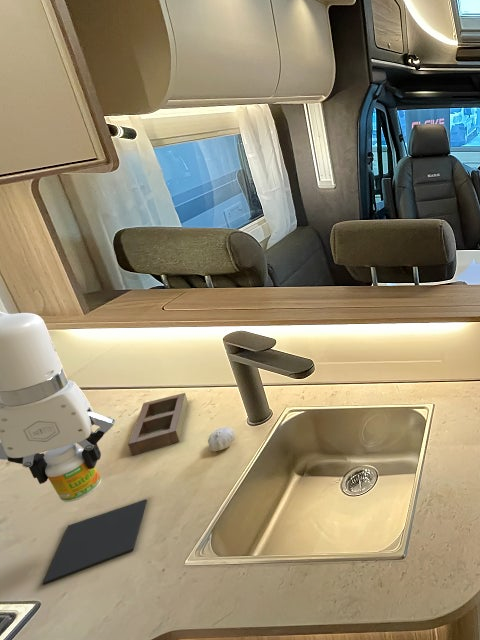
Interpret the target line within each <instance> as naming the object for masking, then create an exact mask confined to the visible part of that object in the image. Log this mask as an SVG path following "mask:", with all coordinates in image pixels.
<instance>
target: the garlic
mask: <svg viewBox="0 0 480 640" xmlns="http://www.w3.org/2000/svg"><path fill="white" fill-rule="evenodd" d="M235 436H236V435H235V431H234V429H233V428H230V427H228V426H222V427H220V428H217V429H215V430H214V431H212V432H211V433H210V434H209V437H208V440H207V444H208V449H209V451H211V452H219V451H223V450H225V449H227V448H229V446H231V445H232V444H233V442H234V441H235Z"/></svg>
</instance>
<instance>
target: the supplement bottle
mask: <svg viewBox="0 0 480 640" xmlns="http://www.w3.org/2000/svg"><path fill="white" fill-rule="evenodd" d="M83 450H84V448H79V445H78V444H77V443H74V444H71V445H67V446H63V447H60V448H56V449H52V450H49V451H45V452H44V460H45V461H46V463H47V466H46V468H45V473H46V475H47V477H48V479H47V480H49V482H50V483H51V485H52V487H53V488H54V491H55V492H56V494H57V495H58V497H59V499H60V500H61V501H62V502H64V503H71V502H75V501H78V500H81V499H84V498H85V497H87V496H89V495H90V494H91V493H93V492H94V491H95V490H96V489H97V488H98V487H99V486H100V485H101V482H102V477H101V475H100V473H99V471H98V470H97V468H96V466H95V467H94V468H93V469H88V468H87V465H86V463H85V460H84V458H83V456H82V452H83Z"/></svg>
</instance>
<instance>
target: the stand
mask: <svg viewBox="0 0 480 640" xmlns="http://www.w3.org/2000/svg"><path fill="white" fill-rule="evenodd" d="M188 405H189V401H188V397H187V394H186V392H183V393H178V394H174V395H170V396H166V397H163V398H157V399H154V400H150V401H146V402H143V403H142V407H141V409H140V412H139V414H138V417H137V420H136V422H135V425H134V427H133V430H132V434H131V436H130V438H129V441H128V448H129V451H130V454H131V456H137V455H139V454H142V453H143V454H144V453H146V452H150V451H154V450H156V449H160V448H164V447H166V446H170V445H173V444H177V443H180V440H181V436H182V432H183V428H184V424H185V419H186V413H187V410H188ZM167 428H168V429H167ZM163 429H164V430H163ZM159 430H161V431H159ZM156 431H158V432H156ZM153 432H154V433H153ZM149 433H151V434H149Z"/></svg>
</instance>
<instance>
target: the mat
mask: <svg viewBox="0 0 480 640" xmlns="http://www.w3.org/2000/svg"><path fill="white" fill-rule="evenodd" d="M147 501H148V499H147V498H146V499H142V500H139V501H137V502H134V503H131V504H128V505H125V506H121V507H119V508H115V509H113V510H109V511H107V512H105V513H101V514H98V515H96V516H92V517H89V518H86V519H83V520H80V521H77V522H74V523H72V524H68V526H67V527H66V530H65V532H64V534H63V536H62V539H61V541H60V543H59V545H58V548H57V550H56V552H55V554H54V557H53V559H52V561H51V563H50V566H49V569H48V570H47V573H46V575H45V577H44V579H43V582H42V583H43V585H46V584H49V583H51V582H54V581H57V580H59V579H62V578H65V577H68V576H70V575H72V574H76V573H78V572H81V571H84V570H87V569H88V568H91V567H93V566H96V565H99V564H102V563H105V562H108V561H109V560H112V559H115V558H117V557H121V556H123V555H125V554H129V553H131V552H133V551H135V546H136V543H137V539H138V535H139V531H140V527H141V524H142V520H143V517H144V513H145V509H146V505H147Z"/></svg>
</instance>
